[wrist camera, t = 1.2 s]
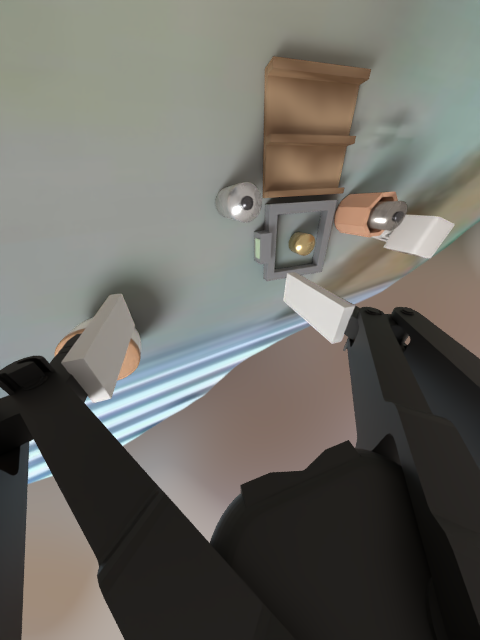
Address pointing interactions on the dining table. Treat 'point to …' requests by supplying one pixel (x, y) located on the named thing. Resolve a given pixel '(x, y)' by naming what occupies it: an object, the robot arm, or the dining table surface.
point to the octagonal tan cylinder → (359, 213)
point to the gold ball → (301, 243)
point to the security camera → (417, 235)
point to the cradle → (267, 238)
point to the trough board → (307, 125)
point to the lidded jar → (131, 354)
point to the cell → (239, 202)
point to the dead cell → (387, 215)
